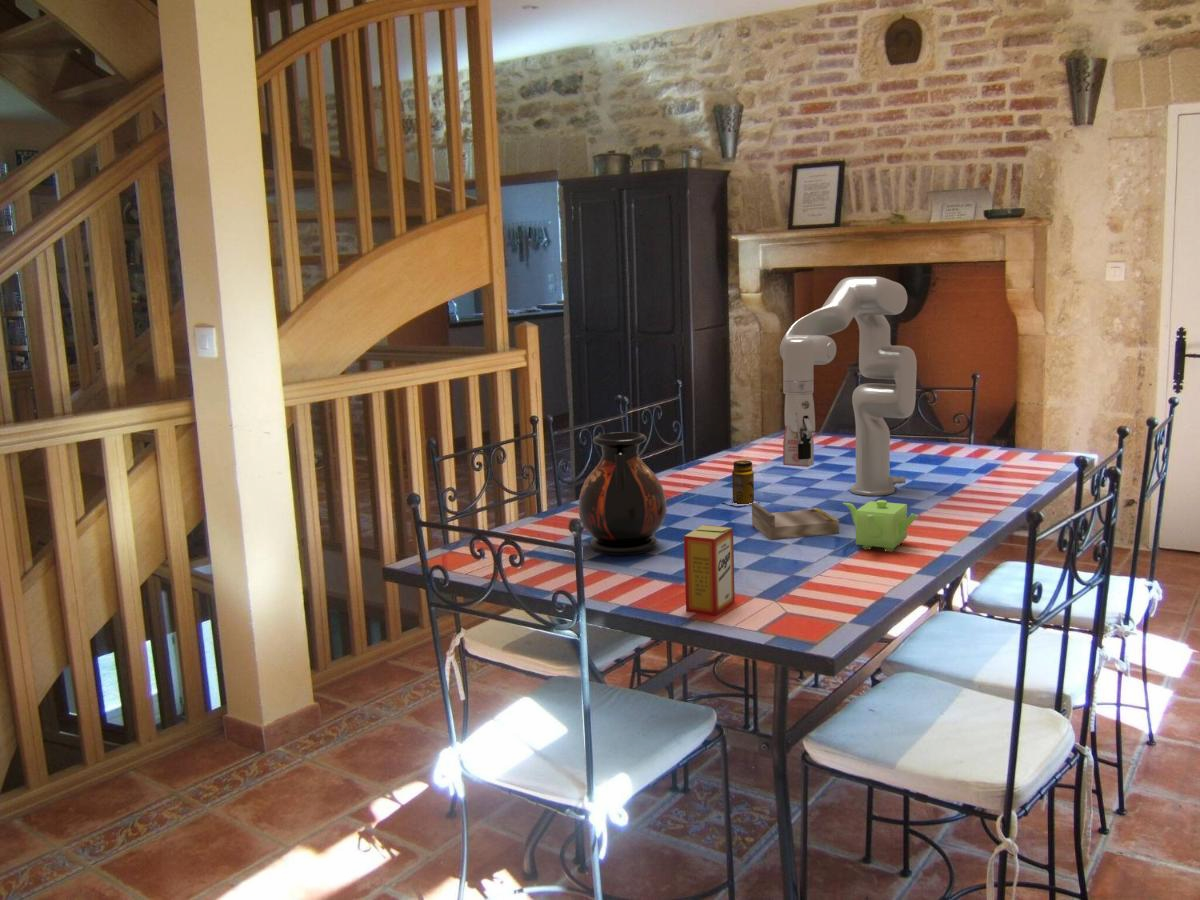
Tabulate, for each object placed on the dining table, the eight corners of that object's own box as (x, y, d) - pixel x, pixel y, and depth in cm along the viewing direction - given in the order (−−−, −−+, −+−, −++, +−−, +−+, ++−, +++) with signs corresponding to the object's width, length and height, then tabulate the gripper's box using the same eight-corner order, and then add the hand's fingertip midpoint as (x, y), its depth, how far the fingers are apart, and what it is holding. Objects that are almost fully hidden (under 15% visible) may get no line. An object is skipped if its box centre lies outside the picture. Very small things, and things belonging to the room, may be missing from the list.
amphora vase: (582, 537, 268) (577, 430, 262) (666, 534, 267) (662, 427, 262) (578, 561, 246) (572, 445, 241) (669, 558, 246) (665, 442, 240)
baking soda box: (715, 615, 206) (714, 537, 203) (686, 611, 209) (683, 534, 206) (734, 601, 214) (733, 525, 211) (705, 597, 217) (703, 522, 214)
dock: (817, 519, 274) (817, 497, 273) (838, 533, 261) (838, 509, 260) (752, 525, 271) (751, 503, 270) (770, 539, 258) (770, 516, 257)
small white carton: (788, 462, 269) (788, 424, 268) (813, 464, 266) (813, 425, 264) (783, 465, 266) (783, 426, 265) (808, 466, 263) (808, 427, 261)
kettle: (867, 558, 239) (867, 510, 237) (838, 543, 253) (838, 497, 251) (925, 550, 243) (926, 503, 241) (893, 536, 256) (893, 491, 254)
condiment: (760, 503, 296) (759, 461, 294) (737, 508, 291) (737, 466, 289) (743, 498, 302) (742, 458, 300) (721, 503, 297) (720, 462, 295)
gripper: (825, 390, 255) (825, 461, 258) (800, 382, 272) (800, 449, 275) (796, 391, 254) (796, 463, 257) (772, 384, 270) (773, 451, 273)
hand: (798, 455), depth 266 cm, fingers closed on small white carton, 7 cm apart
